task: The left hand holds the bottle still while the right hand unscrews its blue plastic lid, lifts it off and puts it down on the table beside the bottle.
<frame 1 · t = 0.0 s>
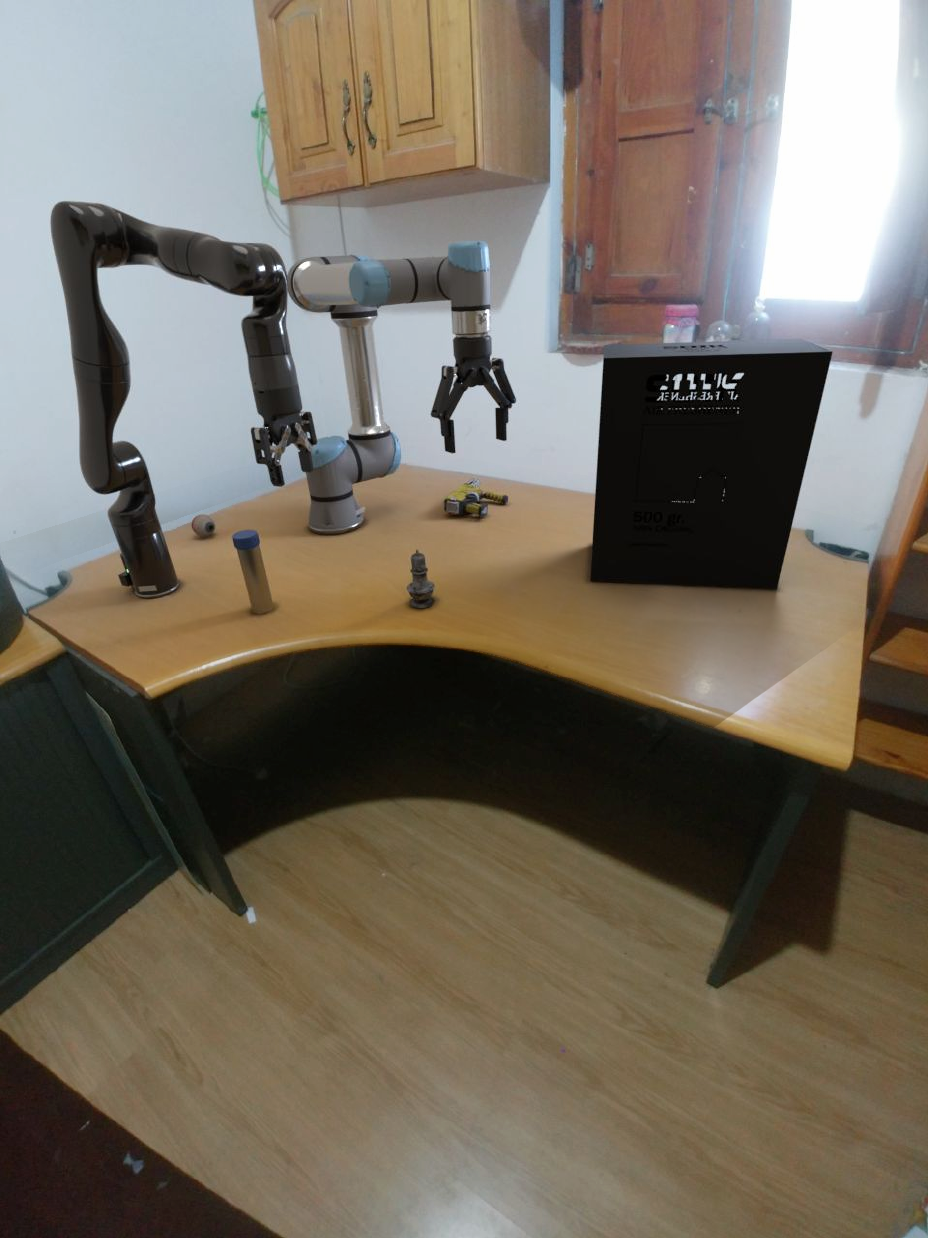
left hand: (293, 478, 109), 29 cm above the table, tool pointing down, fingers open, 8 cm apart
right hand: (476, 445, 127), 28 cm above the table, tool pointing down, fingers open, 13 cm apart
lid: (245, 535, 120), point 17 cm above the table, screwed on, not yet turned
eyeball: (206, 536, 167), on the table
grey chess piece: (422, 602, 127), on the table
bottle: (263, 608, 128), on the table
toy gun: (480, 505, 178), on the table
cardboard box: (676, 565, 136), on the table
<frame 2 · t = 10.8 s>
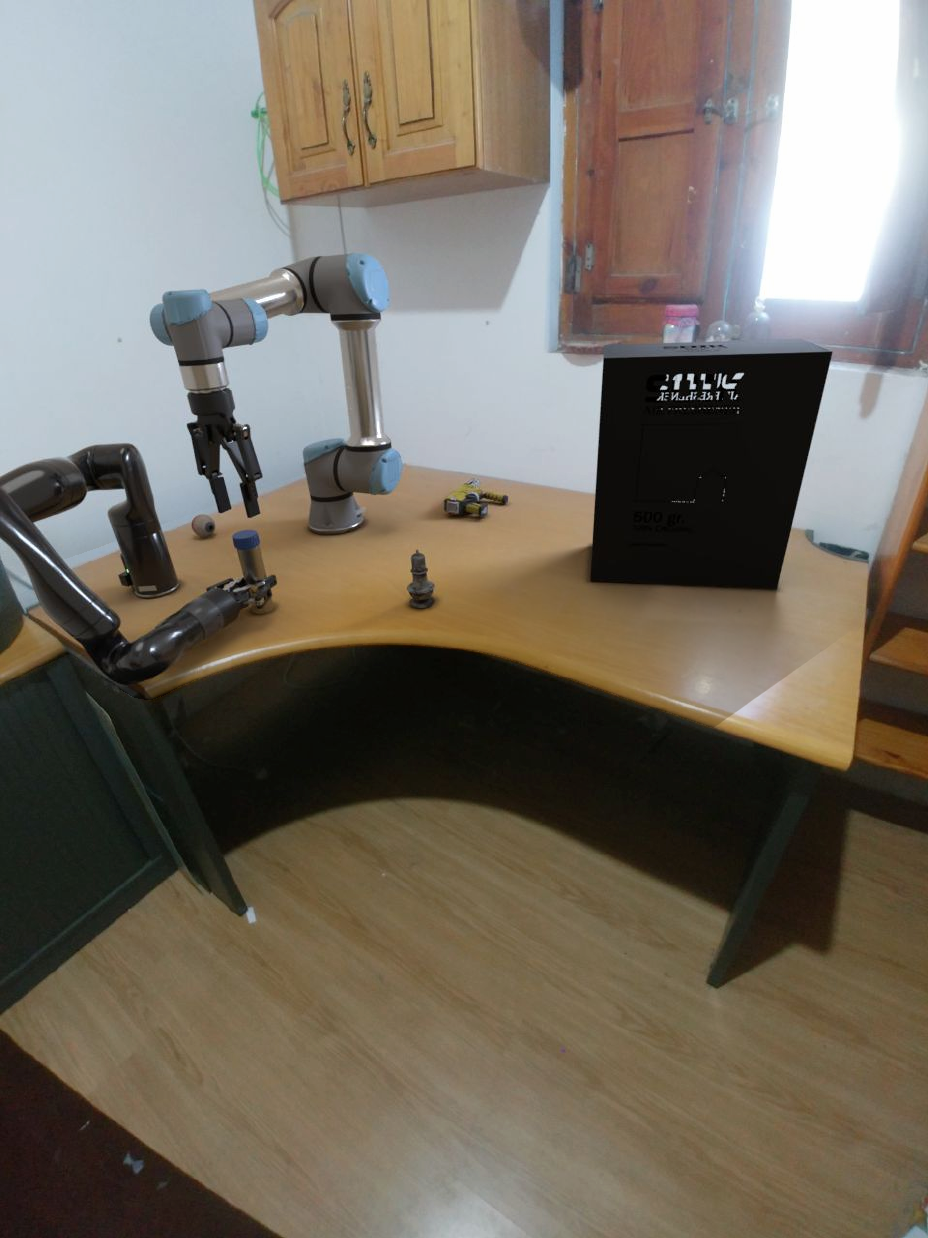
left hand: (265, 577, 127), 6 cm above the table, tool horizontal, fingers closed on bottle, 4 cm apart
right hand: (239, 512, 118), 21 cm above the table, tool pointing down, fingers open, 7 cm apart
bottle: (263, 608, 128), on the table, touching left hand
everything else where it was.
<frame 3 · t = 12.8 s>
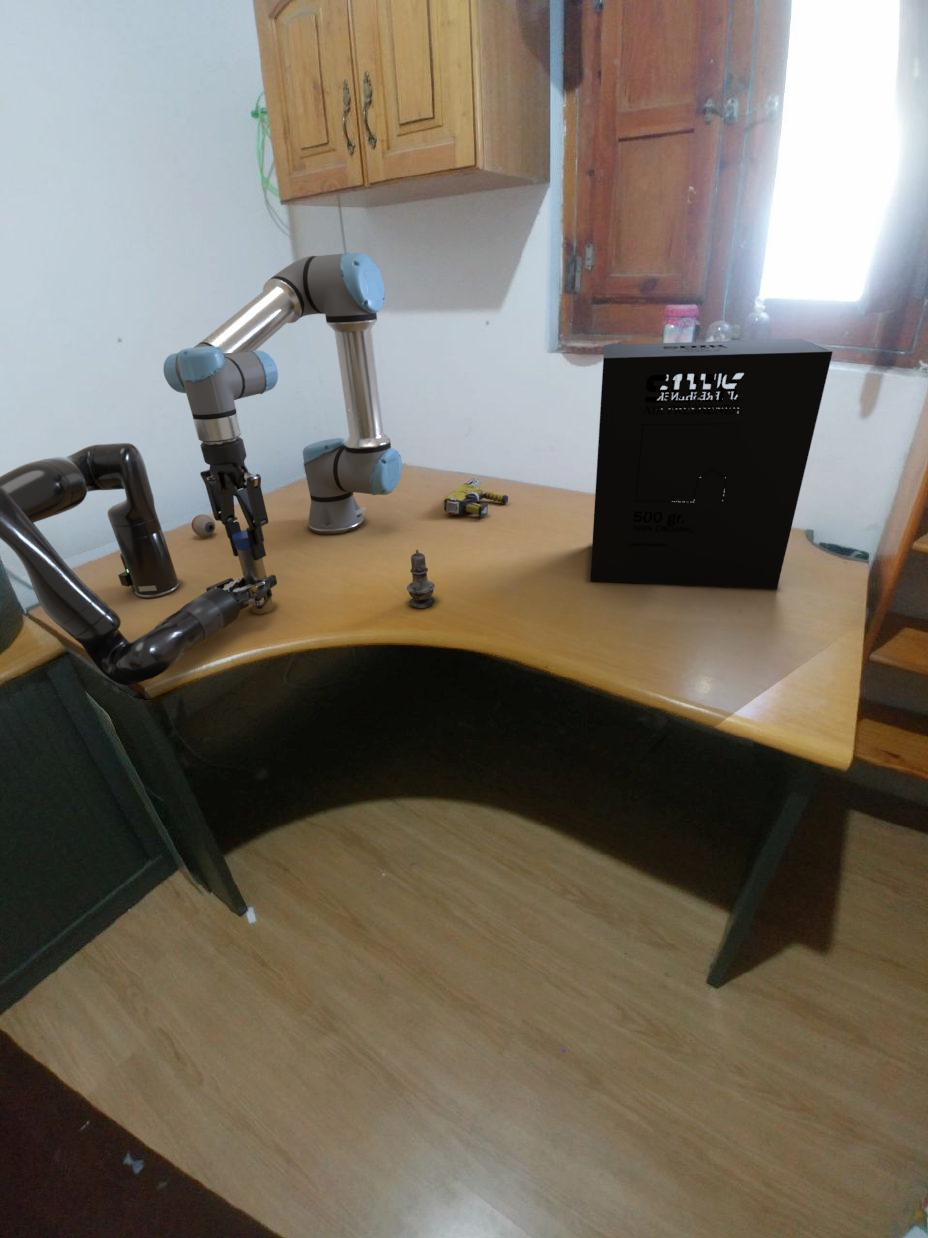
left hand: (265, 577, 127), 6 cm above the table, tool horizontal, fingers closed on bottle, 4 cm apart
right hand: (250, 555, 122), 12 cm above the table, tool pointing down, fingers closed on lid, 5 cm apart
lid: (245, 535, 120), point 17 cm above the table, screwed on, not yet turned, touching right hand
bottle: (263, 608, 128), on the table, touching left hand
everything else where it was.
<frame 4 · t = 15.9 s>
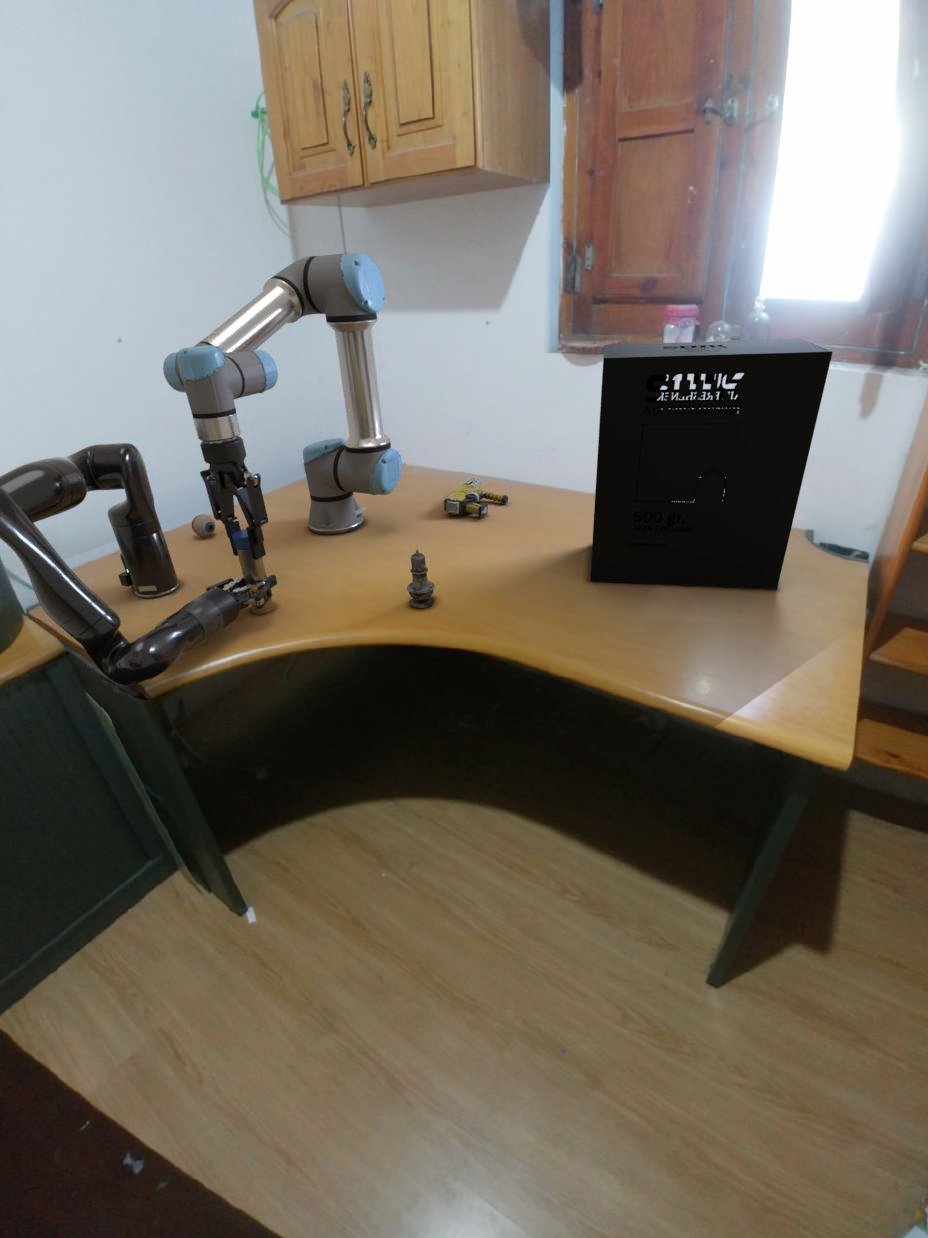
left hand: (265, 577, 127), 6 cm above the table, tool horizontal, fingers closed on bottle, 4 cm apart
right hand: (249, 554, 122), 13 cm above the table, tool pointing down, fingers closed on lid, 5 cm apart
lid: (244, 535, 120), point 17 cm above the table, turned 108° so far, risen 0.1 cm, still on its thread, touching right hand
bottle: (263, 608, 128), on the table, touching left hand
everything else where it was.
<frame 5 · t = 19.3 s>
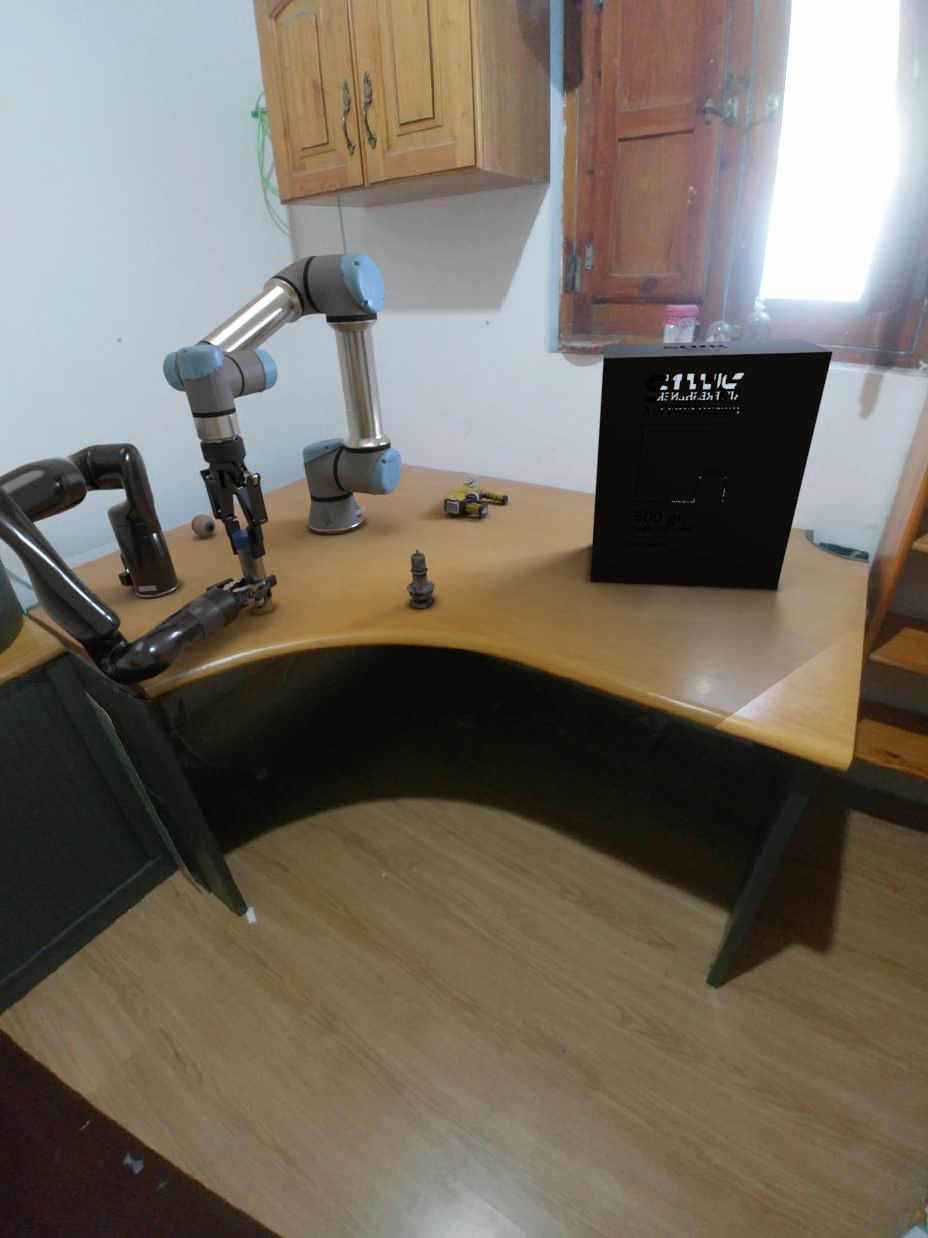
left hand: (265, 577, 127), 6 cm above the table, tool horizontal, fingers closed on bottle, 4 cm apart
right hand: (249, 554, 122), 13 cm above the table, tool pointing down, fingers closed on lid, 5 cm apart
lid: (244, 534, 120), point 17 cm above the table, turned 216° so far, risen 0.3 cm, still on its thread, touching right hand
bottle: (263, 608, 128), on the table, touching left hand
everything else where it was.
when the right hand's fingers open (0 cm above the table, at t = 30.9 s): lid stays where it is, point 2 cm above the table.
when the left hand's fingers open (6 cm above the table, at t = 32.4 s): bottle stays where it is, on the table.
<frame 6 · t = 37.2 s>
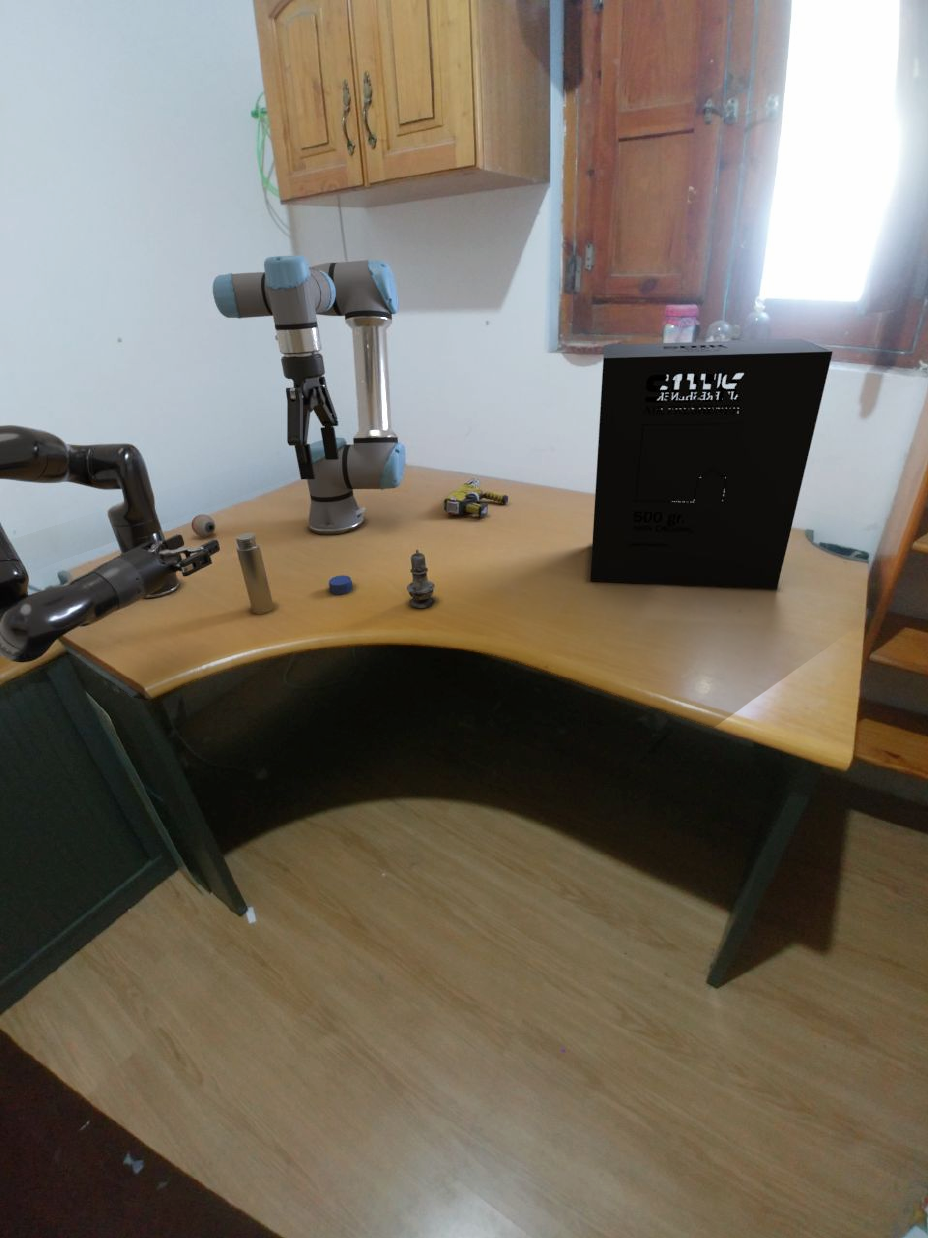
left hand: (199, 541, 109), 20 cm above the table, tool horizontal, fingers open, 8 cm apart
right hand: (320, 468, 121), 27 cm above the table, tool pointing down, fingers open, 13 cm apart
lid: (340, 581, 133), point 2 cm above the table, off its thread
bottle: (263, 608, 128), on the table
everything else where it was.
at the end: lid came off its thread; lid point 2.0 cm above the table; the left hand is holding nothing; the right hand is holding nothing; bottle tilted 0°; bottle moved 0.0 cm from its start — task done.
